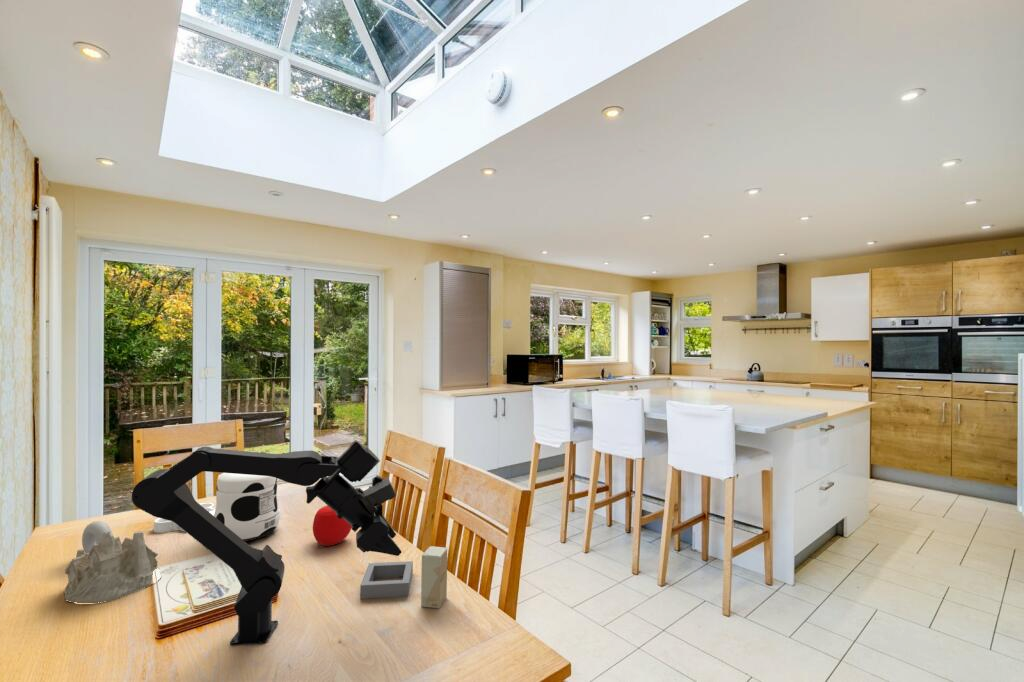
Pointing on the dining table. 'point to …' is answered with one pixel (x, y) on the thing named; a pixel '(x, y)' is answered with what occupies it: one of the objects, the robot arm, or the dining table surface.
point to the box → (434, 577)
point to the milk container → (247, 504)
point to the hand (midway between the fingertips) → (397, 544)
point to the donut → (93, 534)
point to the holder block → (386, 587)
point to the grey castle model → (110, 569)
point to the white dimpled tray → (167, 525)
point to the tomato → (329, 527)
